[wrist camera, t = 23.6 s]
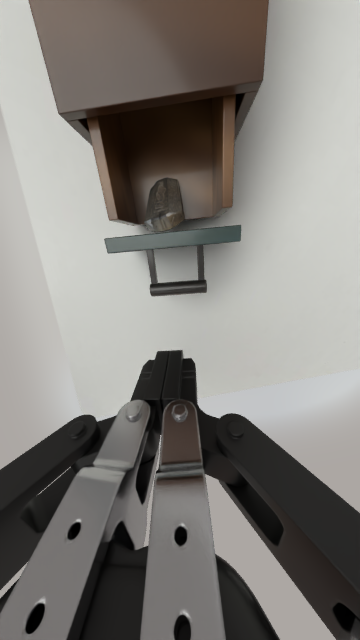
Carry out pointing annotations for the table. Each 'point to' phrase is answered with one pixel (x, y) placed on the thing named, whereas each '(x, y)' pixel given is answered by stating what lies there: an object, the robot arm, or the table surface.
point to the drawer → (168, 175)
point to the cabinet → (150, 54)
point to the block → (164, 206)
